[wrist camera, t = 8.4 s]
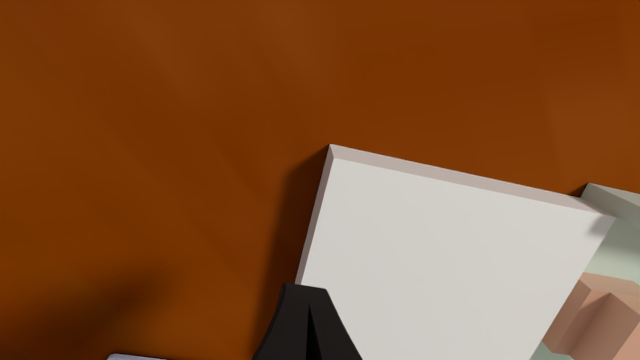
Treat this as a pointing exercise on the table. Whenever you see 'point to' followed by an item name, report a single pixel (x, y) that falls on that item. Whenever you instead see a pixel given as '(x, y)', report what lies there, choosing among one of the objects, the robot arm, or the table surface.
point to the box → (610, 244)
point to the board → (443, 257)
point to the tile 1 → (583, 309)
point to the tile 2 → (612, 331)
